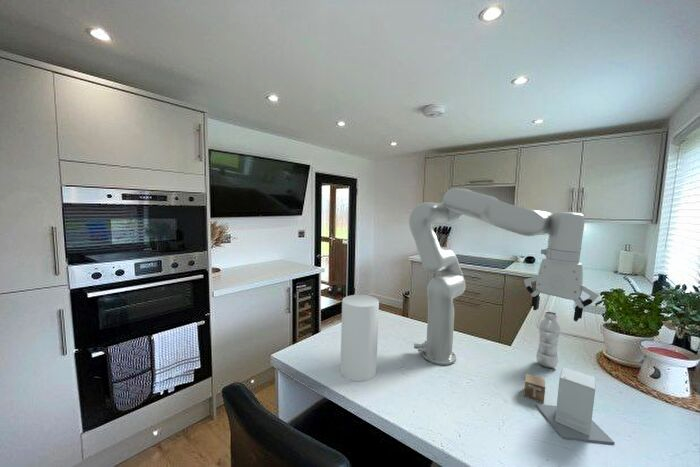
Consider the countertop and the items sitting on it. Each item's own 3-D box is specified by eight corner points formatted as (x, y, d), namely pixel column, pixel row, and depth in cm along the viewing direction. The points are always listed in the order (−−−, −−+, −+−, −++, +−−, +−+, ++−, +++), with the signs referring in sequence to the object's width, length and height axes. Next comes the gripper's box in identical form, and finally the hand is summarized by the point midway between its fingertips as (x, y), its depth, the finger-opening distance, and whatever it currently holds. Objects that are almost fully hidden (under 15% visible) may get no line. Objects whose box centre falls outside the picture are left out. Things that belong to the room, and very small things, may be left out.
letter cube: (524, 397, 86) (525, 381, 86) (524, 388, 91) (525, 373, 90) (543, 403, 83) (545, 387, 83) (543, 394, 88) (544, 379, 87)
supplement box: (590, 437, 71) (595, 389, 69) (554, 421, 76) (558, 376, 74) (591, 421, 76) (596, 376, 75) (557, 407, 81) (561, 365, 80)
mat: (562, 438, 70) (562, 436, 70) (535, 405, 82) (536, 404, 82) (614, 444, 69) (614, 442, 69) (580, 409, 81) (580, 408, 81)
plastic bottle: (561, 371, 101) (566, 317, 99) (540, 368, 102) (545, 315, 100) (552, 362, 107) (556, 311, 105) (532, 359, 108) (536, 309, 107)
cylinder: (353, 357, 106) (355, 292, 104) (382, 368, 99) (385, 299, 97) (332, 372, 96) (334, 300, 94) (363, 386, 89) (366, 309, 87)
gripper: (523, 252, 83) (517, 308, 85) (601, 263, 70) (592, 328, 72) (531, 250, 88) (525, 303, 90) (605, 260, 76) (596, 321, 77)
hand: (555, 314), depth 81 cm, fingers open, 9 cm apart
